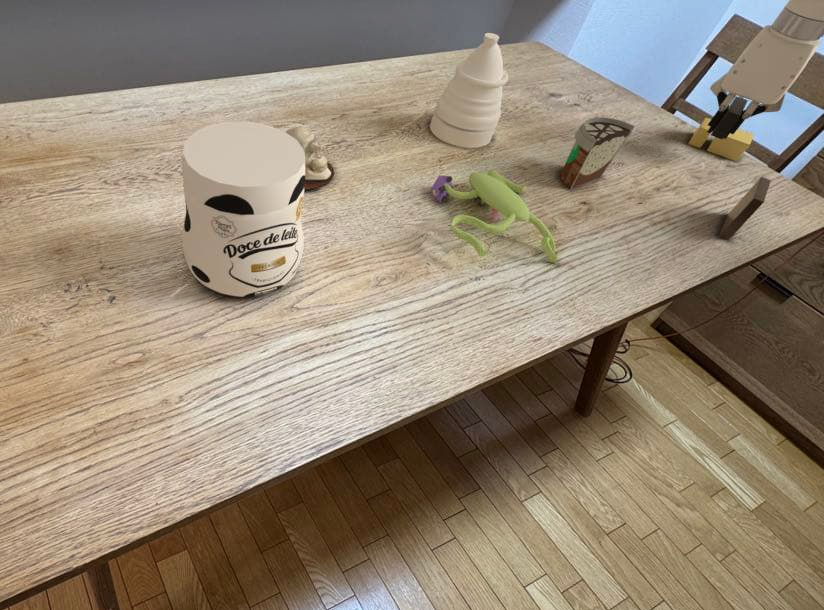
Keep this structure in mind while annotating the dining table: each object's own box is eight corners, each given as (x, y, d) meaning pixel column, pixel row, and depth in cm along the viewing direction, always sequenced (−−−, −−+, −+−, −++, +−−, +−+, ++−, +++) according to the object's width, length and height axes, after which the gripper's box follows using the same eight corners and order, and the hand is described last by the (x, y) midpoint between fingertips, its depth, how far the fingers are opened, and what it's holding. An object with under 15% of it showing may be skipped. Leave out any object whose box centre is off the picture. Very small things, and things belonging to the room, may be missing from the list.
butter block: (739, 152, 112) (754, 134, 108) (734, 163, 109) (750, 144, 106) (710, 142, 114) (724, 123, 110) (705, 152, 111) (719, 133, 107)
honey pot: (479, 156, 102) (519, 54, 87) (419, 135, 105) (449, 33, 91) (498, 131, 109) (539, 32, 94) (442, 111, 112) (473, 13, 97)
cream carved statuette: (348, 162, 95) (339, 136, 85) (322, 214, 97) (309, 195, 87) (293, 138, 98) (278, 110, 88) (268, 189, 99) (251, 168, 90)
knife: (722, 139, 100) (740, 115, 96) (710, 135, 101) (728, 111, 97) (736, 110, 109) (754, 87, 105) (725, 106, 109) (742, 83, 106)
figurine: (447, 272, 81) (460, 242, 76) (420, 176, 96) (429, 147, 92) (560, 278, 82) (579, 249, 77) (515, 183, 97) (529, 154, 93)
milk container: (267, 325, 71) (275, 210, 56) (161, 280, 75) (143, 161, 60) (318, 256, 81) (336, 142, 66) (222, 219, 84) (220, 103, 69)
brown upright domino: (735, 220, 96) (771, 180, 89) (726, 242, 91) (764, 202, 85) (726, 216, 96) (761, 176, 90) (717, 238, 92) (753, 198, 85)
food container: (579, 162, 104) (608, 110, 96) (604, 177, 101) (636, 125, 93) (539, 176, 100) (566, 123, 91) (564, 193, 97) (594, 140, 89)
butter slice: (704, 139, 114) (717, 121, 111) (698, 150, 111) (712, 131, 108) (692, 135, 115) (705, 117, 111) (686, 145, 112) (700, 127, 108)
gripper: (852, 34, 88) (762, 141, 103) (753, 6, 93) (680, 112, 108) (850, 46, 84) (756, 155, 99) (746, 16, 89) (672, 125, 104)
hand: (717, 132), depth 103 cm, fingers closed on knife, 2 cm apart
